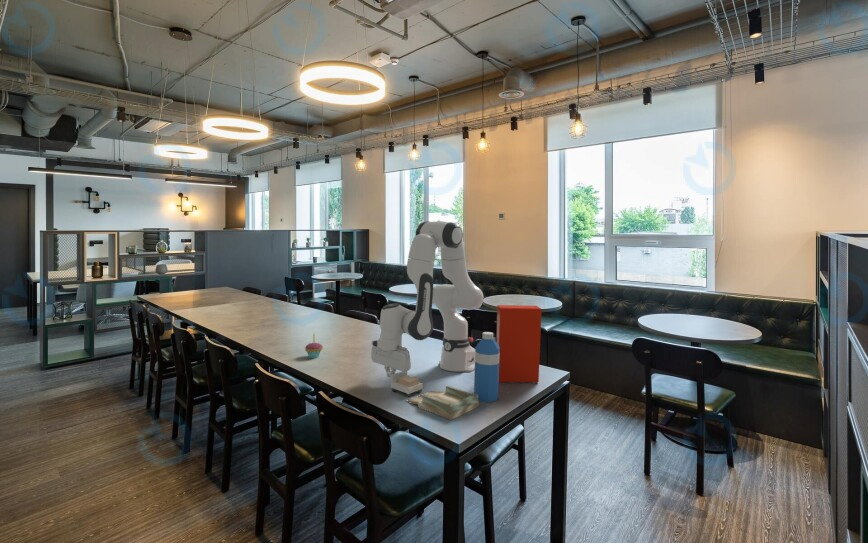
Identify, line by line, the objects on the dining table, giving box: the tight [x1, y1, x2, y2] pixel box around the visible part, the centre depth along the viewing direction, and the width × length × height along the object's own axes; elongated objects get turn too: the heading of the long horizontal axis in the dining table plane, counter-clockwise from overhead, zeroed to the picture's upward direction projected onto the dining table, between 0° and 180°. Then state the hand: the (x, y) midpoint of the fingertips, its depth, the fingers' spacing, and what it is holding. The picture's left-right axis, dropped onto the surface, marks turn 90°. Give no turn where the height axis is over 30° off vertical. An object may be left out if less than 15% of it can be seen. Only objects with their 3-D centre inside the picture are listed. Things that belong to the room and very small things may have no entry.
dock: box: [407, 385, 480, 421], centre depth 151 cm, size 16×23×5 cm
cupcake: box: [304, 333, 324, 359], centre depth 207 cm, size 9×8×12 cm
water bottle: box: [473, 331, 500, 403], centre depth 157 cm, size 9×9×25 cm
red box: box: [495, 304, 543, 382], centre depth 177 cm, size 8×17×32 cm, turn 91°
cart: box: [390, 371, 424, 397], centre depth 162 cm, size 8×10×6 cm
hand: (390, 377), depth 168 cm, fingers closed
